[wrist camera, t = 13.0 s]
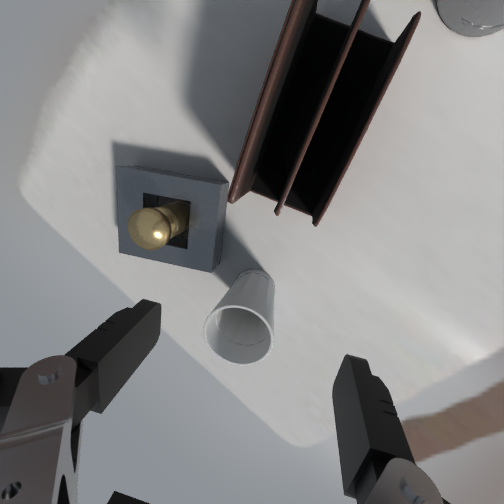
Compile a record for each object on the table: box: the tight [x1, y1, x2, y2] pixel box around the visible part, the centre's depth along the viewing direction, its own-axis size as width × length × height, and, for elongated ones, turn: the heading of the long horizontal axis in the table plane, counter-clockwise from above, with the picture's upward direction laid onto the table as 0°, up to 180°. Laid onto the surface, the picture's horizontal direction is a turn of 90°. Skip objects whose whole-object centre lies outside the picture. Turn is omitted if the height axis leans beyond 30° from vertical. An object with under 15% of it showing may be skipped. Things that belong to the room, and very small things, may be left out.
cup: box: [204, 269, 275, 366], centre depth 34 cm, size 8×8×12 cm
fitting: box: [128, 201, 190, 250], centre depth 34 cm, size 5×5×9 cm
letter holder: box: [227, 0, 421, 227], centre depth 25 cm, size 10×20×14 cm, turn 159°
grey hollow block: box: [116, 166, 229, 273], centre depth 36 cm, size 12×14×4 cm
